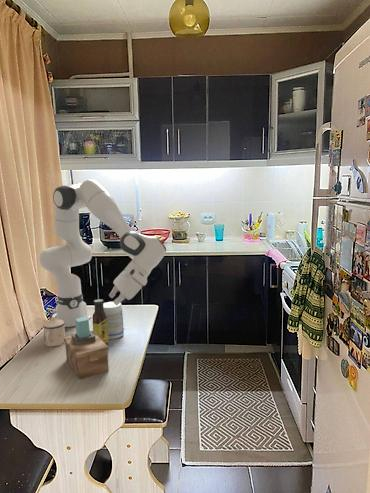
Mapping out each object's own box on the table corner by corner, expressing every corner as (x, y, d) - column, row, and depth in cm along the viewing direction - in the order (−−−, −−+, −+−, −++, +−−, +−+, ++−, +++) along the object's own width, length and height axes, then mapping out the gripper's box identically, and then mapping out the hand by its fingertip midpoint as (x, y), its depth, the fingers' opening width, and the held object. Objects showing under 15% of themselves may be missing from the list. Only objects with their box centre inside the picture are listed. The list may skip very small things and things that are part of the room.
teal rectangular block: (77, 339, 161) (75, 318, 159) (87, 337, 162) (85, 316, 161) (80, 343, 157) (78, 321, 156) (90, 340, 159) (88, 319, 158)
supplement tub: (127, 335, 187) (125, 304, 184) (109, 341, 181) (107, 309, 179) (117, 329, 195) (115, 299, 192) (98, 335, 189) (96, 304, 186)
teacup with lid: (50, 338, 187) (47, 313, 185) (69, 338, 186) (67, 313, 184) (38, 349, 176) (35, 323, 173) (58, 350, 174) (56, 323, 172)
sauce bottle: (105, 348, 174) (102, 303, 171) (91, 347, 176) (88, 303, 172) (111, 342, 181) (108, 298, 177) (97, 341, 182) (94, 298, 178)
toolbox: (65, 359, 165) (62, 332, 163) (94, 352, 171) (92, 326, 169) (79, 380, 149) (76, 350, 146) (110, 371, 154) (108, 342, 152)
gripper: (124, 262, 171) (102, 288, 170) (135, 274, 152) (111, 303, 151) (135, 272, 173) (113, 297, 172) (148, 284, 155) (124, 312, 153)
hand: (112, 300), depth 161 cm, fingers open, 8 cm apart
